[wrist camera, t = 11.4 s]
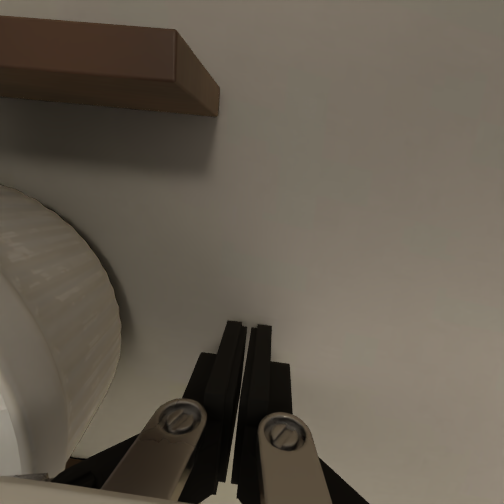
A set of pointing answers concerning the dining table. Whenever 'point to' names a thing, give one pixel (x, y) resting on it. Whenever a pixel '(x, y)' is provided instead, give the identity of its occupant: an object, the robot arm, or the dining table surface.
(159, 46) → the frame
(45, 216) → the ramekin
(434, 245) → the dining table surface
